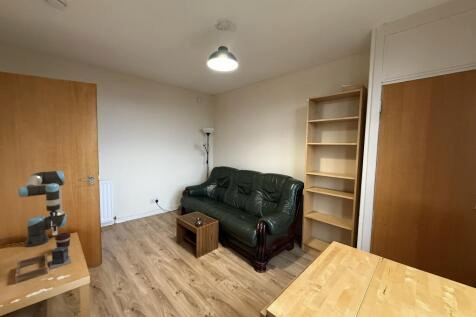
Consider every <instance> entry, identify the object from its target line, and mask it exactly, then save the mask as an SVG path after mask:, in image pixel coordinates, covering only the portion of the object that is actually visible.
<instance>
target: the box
mask: <svg viewBox="0 0 476 317" xmlns="http://www.w3.org/2000/svg"><path fill="white" fill-rule="evenodd" d="M68 256H69V250H68V247H57V246H56V247H55V248H54V249H52V250H51V261H52V264H59V263H65V262H66V261H67V260H68Z"/></svg>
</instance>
